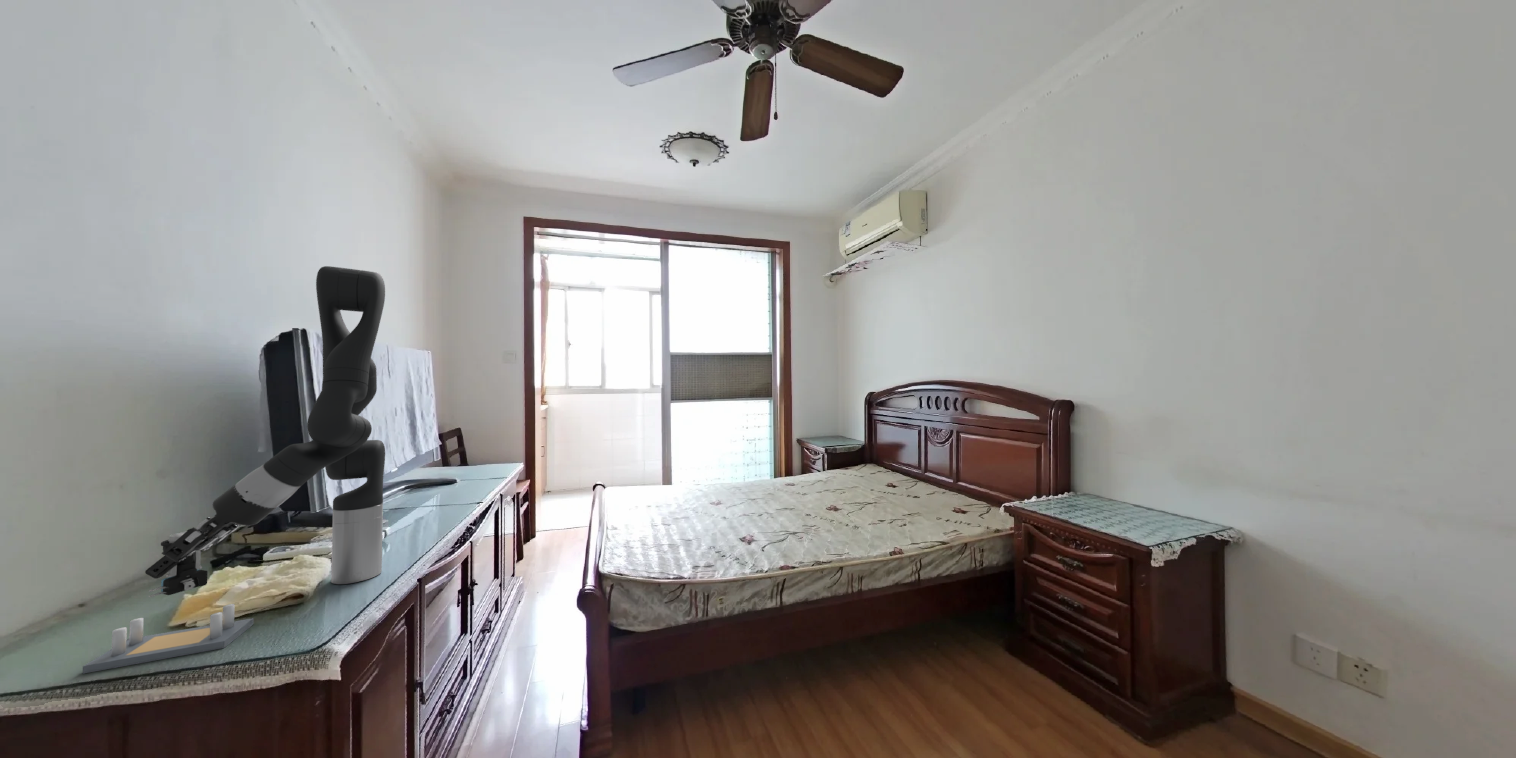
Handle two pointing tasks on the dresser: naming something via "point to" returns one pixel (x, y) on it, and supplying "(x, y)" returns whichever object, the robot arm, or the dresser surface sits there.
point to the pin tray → (168, 641)
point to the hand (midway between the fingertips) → (163, 569)
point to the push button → (182, 571)
